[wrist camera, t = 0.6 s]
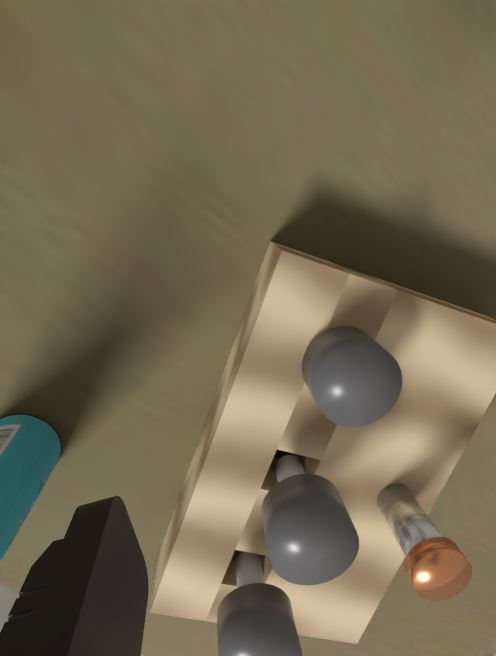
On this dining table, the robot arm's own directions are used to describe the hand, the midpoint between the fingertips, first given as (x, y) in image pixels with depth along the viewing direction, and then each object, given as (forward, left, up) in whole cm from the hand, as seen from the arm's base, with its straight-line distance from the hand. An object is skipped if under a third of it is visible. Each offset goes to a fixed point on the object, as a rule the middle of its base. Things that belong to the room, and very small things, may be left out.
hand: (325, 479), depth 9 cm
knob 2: (+2, +7, -19) cm, 20 cm away
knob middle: (+10, +7, -16) cm, 20 cm away
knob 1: (+18, +7, -16) cm, 25 cm away
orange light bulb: (+10, +14, -16) cm, 23 cm away
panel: (+10, +9, -20) cm, 24 cm away
